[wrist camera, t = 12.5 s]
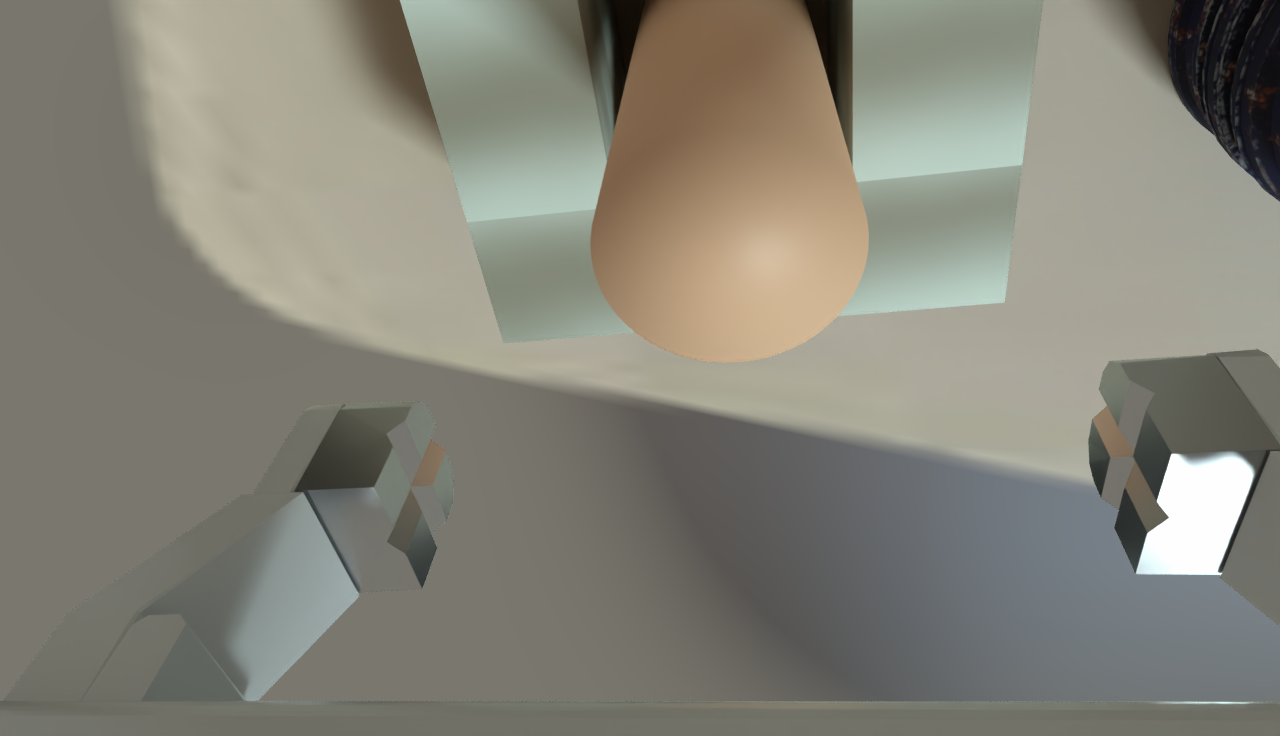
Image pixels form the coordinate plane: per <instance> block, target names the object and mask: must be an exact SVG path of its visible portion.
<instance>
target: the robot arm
mask: <svg viewBox="0 0 1280 736" xmlns="http://www.w3.org/2000/svg"><path fill="white" fill-rule="evenodd" d="M1099 390H1100V392H1101V394H1102V396H1103V398H1104V400H1105V402H1106V404H1107V407H1105V408H1104V409H1103V410H1102V411H1101V412H1100V413H1099V414H1097V415H1096V416H1095V417H1094V418H1093V419H1092V424H1091V429H1090V435H1089V441H1088V445H1089V464H1090V468H1091V472H1092V476H1093V480H1094V483H1095V485H1096V488H1097V490H1098V492H1099V495H1100V497H1101V498H1102V499H1103V500H1105V501H1106V502H1108V503H1109V504H1111V505H1112V506H1114V507H1115V508H1117V509H1118V510H1119V512H1118V515H1117V519H1116V523H1115V527H1114V528H1115V530H1116V533H1117V535H1118V537H1119V539H1120V541H1121V544H1122V546H1123V548H1124V550H1125V552H1126V554H1127V556H1128V558H1129V561H1130V563H1131V565H1132V567H1133V570H1134V572H1135V574H1221V576H1220V578H1221V579H1222V580H1223V581H1224V582H1226V583H1227V584H1228V585H1229V586H1231V587H1232V588H1233V589H1234V590H1235V591H1237V592H1238V593H1239V594H1240V595H1242V596H1243V597H1244V598H1246V599H1247V600H1248V601H1249V602H1250V603H1252V604H1253V605H1254V606H1255V607H1257V608H1258V609H1259V610H1260V611H1262V612H1263V613H1264V614H1265V615H1266V616H1268V617H1269V618H1270V619H1272V620H1273V621H1274V622H1275V623H1277V624H1278V625H1279V626H1280V368H1279V367H1278V366H1277V364H1276V363H1275V362H1274V361H1273V360H1272V358H1271V357H1270V356H1269V355H1268V354H1266V353H1264V352H1262V351H1260V350H1246V351H1233V352H1221V353H1208V354H1206V355H1197V356H1182V357H1166V358H1150V359H1134V360H1119V361H1109V363H1108V364H1107V366H1106V368H1105V369H1104V371H1103V374H1102V378H1101V382H1100V387H1099ZM435 426H436V424H435V422H434V419H433V417H432V414H431V412H430V410H429V408H428V406H427V405H425V404H423V403H421V402H419V401H415V402H389V403H388V402H387V403H359V404H348V405H321V406H312V407H310V408H308V409H307V410H305V411H303V413H302V415H301V416H300V418H299V419H298V421H297V422H296V424H295V426H294V427H293V429H292V431H291V432H290V434H289V436H288V438H287V439H286V440H285V442H284V444H283V445H282V447H281V449H280V450H279V452H278V453H277V455H276V457H275V458H274V460H273V462H272V463H271V465H270V466H269V468H268V470H267V471H266V473H265V475H264V476H263V478H262V480H261V481H260V483H259V484H258V486H257V488H256V489H255V491H254V492H253V494H246V495H240V496H239V497H237V498H236V499H234V500H233V501H231V502H230V503H228V504H227V505H226V506H224V507H222V508H221V509H220V510H218V511H217V512H215V513H214V514H212V515H211V516H209V517H208V518H206V519H205V520H203V521H202V522H200V523H199V524H197V525H196V526H195V527H193V528H192V529H190V530H189V531H187V532H186V533H184V534H183V535H181V536H180V537H178V538H177V539H176V540H174V541H173V542H171V543H169V544H168V545H167V546H165V547H164V548H162V549H161V550H159V551H158V552H156V553H155V554H153V555H152V556H150V557H149V558H147V559H146V560H144V561H143V562H141V563H140V564H139V565H137V566H136V567H134V568H133V569H131V570H130V571H128V572H127V573H125V574H124V575H122V576H121V577H119V578H118V579H116V580H115V581H114V582H112V583H111V584H109V585H108V586H106V587H105V588H103V589H102V590H100V591H99V592H97V593H96V594H95V595H93V596H91V597H90V598H88V599H87V600H86V601H84V602H83V603H81V604H80V605H78V606H77V607H75V608H74V609H72V610H71V611H69V612H68V613H67V614H66V615H65V616H64V618H63V619H62V620H61V622H60V623H59V625H58V626H57V627H56V629H55V630H54V631H53V633H52V634H51V636H50V637H49V638H48V639H47V641H46V642H45V644H44V645H43V646H42V648H41V649H40V650H39V652H38V653H37V654H36V656H35V657H34V659H33V660H32V661H31V663H30V664H29V665H28V667H27V668H26V670H25V671H24V672H23V674H22V675H21V676H20V678H19V679H18V680H17V682H16V683H15V684H14V686H13V687H12V688H11V690H10V691H9V693H8V694H7V695H6V697H5V698H4V700H3V701H0V736H1280V702H749V701H748V702H747V701H745V702H743V701H741V702H740V701H737V702H736V701H730V702H727V701H725V702H724V701H716V702H715V701H713V702H711V701H706V702H705V701H700V702H699V701H697V702H696V701H695V702H694V701H691V702H690V701H686V702H685V701H679V702H678V701H653V702H651V701H645V702H644V701H637V702H636V701H258V700H259V699H260V698H261V697H262V696H263V695H264V694H265V693H266V692H267V691H268V690H269V689H270V688H271V687H272V685H274V683H275V682H276V681H277V680H278V679H279V678H280V677H281V676H282V675H283V674H284V673H285V672H286V671H287V670H288V669H289V668H290V667H291V666H292V665H293V664H294V663H295V662H296V661H297V660H298V659H299V658H300V657H301V656H302V655H303V654H304V653H305V652H306V651H307V650H308V648H309V647H310V646H311V645H312V644H313V643H314V642H315V641H316V640H317V639H318V638H319V637H320V636H321V635H322V634H323V633H324V632H325V631H326V630H327V629H328V628H329V627H330V626H331V625H332V624H333V623H334V622H335V621H336V620H337V619H338V618H339V617H340V616H341V614H342V613H343V612H344V611H345V610H346V609H347V608H348V607H349V606H350V605H351V604H352V603H353V602H354V601H355V600H356V599H357V598H358V597H359V594H358V593H359V592H360V593H361V592H380V591H400V590H419V589H423V586H424V583H425V581H426V578H427V575H428V572H429V569H430V566H431V564H432V561H433V558H434V555H435V553H436V550H437V546H436V544H435V541H434V539H433V537H432V533H433V532H434V531H436V529H438V528H439V527H440V526H441V525H443V524H444V523H445V522H446V521H447V519H448V515H449V512H450V509H451V506H452V503H453V488H454V478H453V472H452V466H451V463H450V460H449V457H448V455H447V452H446V450H445V449H443V448H442V447H440V446H439V445H438V444H437V443H435V442H434V441H432V440H431V436H432V434H433V431H434V429H435Z"/></svg>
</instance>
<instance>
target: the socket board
mask: <svg viewBox="0 0 1280 736" xmlns="http://www.w3.org/2000/svg"><path fill="white" fill-rule="evenodd" d="M805 1H806V5H807V8H808V12H809V15H810V19H811V22H812V26H813V29H814V33H815V36H816V40H817V43H818V47H819V51H820V54H821V58H822V61H823V65H824V68H825V72H826V75H827V79H828V82H829V86H830V89H831V93H832V96H833V100H834V103H835V107H836V111H837V114H838V118H839V121H840V125H841V128H842V132H843V135H844V139H845V142H846V146H847V149H848V153H849V156H850V160H851V163H852V167H853V171H854V174H855V178H856V181H857V185H858V188H859V192H860V195H861V199H862V202H863V206H864V209H865V213H866V216H867V223H868V231H869V246H868V255H867V260H866V266H865V269H864V272H863V275H862V277H861V280H860V283H859V285H858V287H857V288H856V290H855V292H854V294H853V296H852V298H851V299H850V300H849V302H848V303H847V305H846V306H845V308H844V309H843V310H842V311H841V312H840V313H839V315H838V316H845V315H857V314H870V313H882V312H894V311H906V310H919V309H931V308H943V307H955V306H968V305H980V304H992V303H1004V302H1005V294H1006V286H1007V278H1008V271H1009V263H1010V255H1011V247H1012V239H1013V232H1014V224H1015V216H1016V208H1017V200H1018V192H1019V185H1020V177H1021V169H1022V161H1023V153H1024V146H1025V138H1026V130H1027V122H1028V114H1029V106H1030V99H1031V91H1032V83H1033V75H1034V67H1035V60H1036V52H1037V44H1038V36H1039V28H1040V21H1041V13H1042V5H1043V0H805ZM400 3H401V6H402V9H403V13H404V16H405V19H406V22H407V26H408V29H409V32H410V36H411V39H412V42H413V46H414V49H415V52H416V55H417V59H418V62H419V65H420V69H421V72H422V75H423V79H424V82H425V85H426V88H427V92H428V95H429V98H430V102H431V105H432V108H433V112H434V115H435V118H436V121H437V125H438V128H439V131H440V135H441V138H442V141H443V145H444V148H445V151H446V154H447V158H448V161H449V164H450V168H451V171H452V174H453V178H454V181H455V184H456V187H457V191H458V194H459V197H460V201H461V204H462V207H463V211H464V214H465V217H466V220H467V224H468V227H469V230H470V234H471V237H472V240H473V244H474V247H475V250H476V253H477V257H478V260H479V263H480V267H481V270H482V273H483V277H484V280H485V283H486V286H487V290H488V293H489V296H490V300H491V303H492V306H493V310H494V313H495V316H496V319H497V323H498V326H499V329H500V333H501V336H502V339H503V343H514V342H526V341H538V340H550V339H563V338H575V337H587V336H600V335H612V334H624V333H636V332H634V331H633V330H632V329H631V328H630V327H628V326H627V325H626V324H625V323H624V322H623V321H622V320H621V319H620V318H619V316H618V315H617V314H616V313H615V312H614V311H613V309H612V308H611V306H610V305H609V303H608V302H607V301H606V299H605V297H604V295H603V293H602V291H601V289H600V287H599V285H598V282H597V279H596V276H595V274H594V270H593V265H592V260H591V247H590V238H591V229H592V222H593V218H594V214H595V210H596V206H597V201H598V197H599V193H600V189H601V184H602V180H603V176H604V172H605V168H606V163H607V159H608V155H609V151H610V146H611V142H612V138H613V134H614V129H615V125H616V121H617V117H618V113H619V108H620V104H621V100H622V96H623V91H624V87H625V83H626V79H627V74H628V70H629V66H630V62H631V58H632V53H633V49H634V45H635V41H636V36H637V32H638V28H639V24H640V20H641V15H642V11H643V7H644V3H645V0H400Z"/></svg>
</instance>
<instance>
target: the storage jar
mask: <svg viewBox="0 0 1280 736" xmlns="http://www.w3.org/2000/svg"><path fill="white" fill-rule="evenodd" d="M1168 52H1169V66H1170V70H1171V75H1172V79H1173V83H1174V86H1175V88H1176V90H1177V92H1178V94H1179V97H1180V99H1181V101H1182V103H1183V104H1184V106H1185V107H1186V108H1187V109H1188V111H1189V112H1190V113H1191V114H1192V116H1193V117H1194V118H1195V119H1196V120H1197V121H1198V122H1199V123H1200V124H1201V125H1202V126H1203V127H1205V128H1206V129H1207V130H1208V131H1210V132H1211V133H1212V134H1213V135H1215V137H1216V139H1217V141H1218V142H1219V143H1220V145H1221V146H1222V147H1223V148H1224V150H1225V151H1226V152H1227V153H1228V155H1229V156H1230V157H1231V158H1232V159H1233V160H1234V161H1235V162H1236V163H1237V164H1239V165H1240V166H1241V167H1242V168H1243V169H1244V170H1245V171H1246V172H1247V173H1249V174H1250V175H1251V176H1252V177H1254V178H1255V179H1256V181H1257V182H1258V183H1259V184H1260V186H1261V187H1262V188H1263V189H1264V190H1265V191H1267V192H1268V193H1269V194H1271V195H1272V196H1273V197H1275V198H1276V199H1277V200H1278V201H1280V0H1176V1H1175V4H1174V8H1173V11H1172V15H1171V22H1170V29H1169V37H1168Z"/></svg>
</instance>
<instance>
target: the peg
mask: <svg viewBox="0 0 1280 736" xmlns="http://www.w3.org/2000/svg"><path fill="white" fill-rule="evenodd" d="M868 246H869V231H868V223H867V216H866V213H865V209H864V206H863V202H862V199H861V195H860V192H859V188H858V185H857V181H856V178H855V174H854V171H853V167H852V163H851V160H850V156H849V153H848V149H847V146H846V142H845V139H844V135H843V132H842V128H841V125H840V121H839V118H838V114H837V111H836V107H835V103H834V100H833V96H832V93H831V89H830V86H829V82H828V79H827V75H826V72H825V68H824V65H823V61H822V58H821V54H820V51H819V47H818V43H817V40H816V36H815V33H814V29H813V26H812V22H811V19H810V15H809V12H808V8H807V5H806V1H805V0H645V3H644V7H643V11H642V15H641V20H640V24H639V28H638V32H637V36H636V41H635V45H634V49H633V53H632V58H631V62H630V66H629V70H628V74H627V79H626V83H625V87H624V91H623V96H622V100H621V104H620V108H619V113H618V117H617V121H616V125H615V129H614V134H613V138H612V142H611V146H610V151H609V155H608V159H607V163H606V168H605V172H604V176H603V180H602V184H601V189H600V193H599V197H598V201H597V206H596V210H595V214H594V218H593V222H592V229H591V238H590V247H591V260H592V265H593V270H594V274H595V276H596V279H597V282H598V285H599V287H600V289H601V291H602V293H603V295H604V297H605V299H606V301H607V302H608V303H609V305H610V306H611V308H612V309H613V311H614V312H615V313H616V314H617V315H618V316H619V318H620V319H621V320H622V321H623V322H624V323H625V324H626V325H627V326H628V327H630V328H631V329H632V330H633V331H634V332H636V333H637V334H638V335H640V336H641V337H643V338H644V339H646V340H647V341H649V342H650V343H652V344H654V345H656V346H658V347H660V348H662V349H664V350H666V351H669V352H672V353H674V354H677V355H680V356H683V357H687V358H691V359H695V360H702V361H709V362H725V363H731V362H745V361H751V360H757V359H763V358H766V357H770V356H773V355H777V354H780V353H782V352H785V351H787V350H790V349H792V348H794V347H796V346H798V345H800V344H802V343H804V342H805V341H807V340H809V339H810V338H812V337H813V336H815V335H816V334H818V333H819V332H821V331H822V330H823V329H824V328H825V327H826V326H827V325H829V324H830V323H831V322H832V321H833V320H834V319H835V318H836V317H837V316H838V315H839V313H840V312H841V311H842V310H843V309H844V308H845V306H846V305H847V303H848V302H849V300H850V299H851V298H852V296H853V294H854V292H855V290H856V288H857V287H858V285H859V283H860V280H861V277H862V275H863V272H864V269H865V266H866V260H867V255H868Z"/></svg>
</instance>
